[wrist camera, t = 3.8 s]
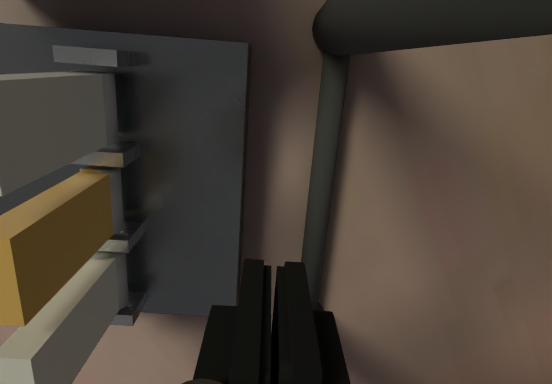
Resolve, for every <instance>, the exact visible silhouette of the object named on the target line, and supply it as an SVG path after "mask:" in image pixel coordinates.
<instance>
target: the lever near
mask: <svg viewBox="0 0 552 384" xmlns="http://www.w3.org/2000/svg"><path fill="white" fill-rule="evenodd" d="M118 142H119V138H118V122H117V106H116V90H115V74H114V73H109V72H97V71H69V72H46V73H23V74H0V196H4V195H6V194H8V193H10V192H12V191H14V190H16V189H18V188H20V187H22V186H25V185H27V184H29V183H31V182H33V181H35V180H37V179H39V178H41V177H43V176H45V175H47V174H49V173H51V172H53V171H55V170H58V169H60V168H62V167H64V166H66V165H68V164H70V163H72V162H74V161H76V160H78V159H80V158H82V157H84V156H86V155H88V154H91V153H93V152H95V151H97V150H99V149H101V148H103V147H105V146H107V145H113V144H117V143H118Z"/></svg>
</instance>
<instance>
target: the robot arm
mask: <svg viewBox="0 0 552 384" xmlns="http://www.w3.org/2000/svg"><path fill="white" fill-rule="evenodd" d="M182 384H351V383H350V379H349V375H348V371H347V367H346V363H345V359H344V355H343V351H342V347H341V343H340V339H339V335H338V331H337V326H336V322H335V318H334V315H333V313H332V312H330V311H313V310H312V304H311V298H310V292H309V286H308V280H307V274H306V268H305V263H301V262H285V265H284V267H282V266H277V273H276V285H275V297H274V309H273V320H272V332H271V266H266V265H264V260H252V259H245V261H244V268H243V275H242V282H241V289H240V296H239V303H238V306H225V305H212V306H211V310H210V314H209V318H208V322H207V325H206V329H205V333H204V337H203V341H202V345H201V349H200V353H199V357H198V361H197V365H196V369H195V373H194V377H193V380H190V381H186V382H184V383H182Z"/></svg>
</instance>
